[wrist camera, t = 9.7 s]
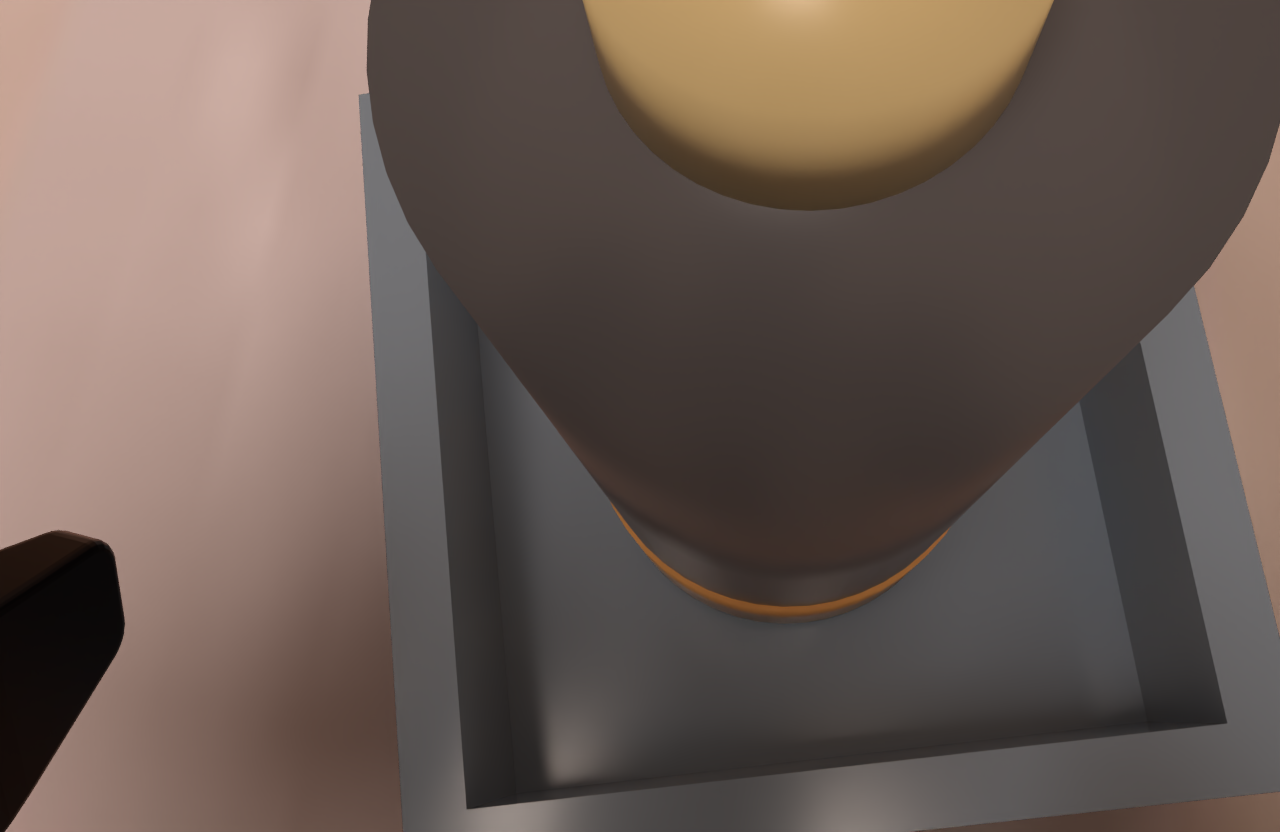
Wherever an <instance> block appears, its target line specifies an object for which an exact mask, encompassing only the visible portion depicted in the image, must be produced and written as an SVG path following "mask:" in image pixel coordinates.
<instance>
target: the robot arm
mask: <svg viewBox="0 0 1280 832" xmlns="http://www.w3.org/2000/svg"><path fill="white" fill-rule="evenodd" d="M124 626H125V619H124V612H123V606H122V599H121V593H120V587H119V580H118V574H117V567H116V561H115V556H114V553H113V551H112V550H111V548H110V547H109V545H108V544H107V543H105V542H103V541H102V540H99V539H95V538H91V537H87V536H84V535H80V534H76V533H72V532H68V531H60V530H57V531H51V532H48V533H44V534H42V535H39V536H36V537H34V538H31V539H28V540H25V541H23V542H20V543H17V544H15V545H12V546H9V547H7V548H4V549H1V550H0V832H5V831H6V829H7V828H8V827H9V825H10V824H11V822H12V821H13V820H14V818H15V816H16V815H17V813H18V812H19V810H20V809H21V807H22V806H23V804H24V803H25V801H26V800H27V798H28V797H29V795H30V794H31V792H32V790H33V789H34V787H35V786H36V784H37V782H38V781H39V779H40V777H41V776H42V774H43V773H44V771H45V769H46V768H47V766H48V764H49V763H50V761H51V760H52V758H53V756H54V755H55V753H56V752H57V750H58V748H59V747H60V745H61V743H62V742H63V740H64V739H65V737H66V735H67V734H68V732H69V730H70V729H71V727H72V726H73V724H74V722H75V721H76V719H77V717H78V716H79V714H80V713H81V711H82V709H83V708H84V706H85V704H86V703H87V701H88V700H89V698H90V696H91V695H92V693H93V691H94V690H95V688H96V687H97V685H98V683H99V682H100V680H101V678H102V677H103V675H104V674H105V672H106V670H107V669H108V667H109V665H110V664H111V662H112V661H113V659H114V657H115V656H116V654H117V652H118V650H119V647H120V645H121V642H122V639H123V635H124Z"/></svg>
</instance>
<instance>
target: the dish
mask: <svg viewBox="0 0 1280 832" xmlns="http://www.w3.org/2000/svg"><path fill="white" fill-rule="evenodd" d="M359 109H360V125H361V142H362V158H363V175H364V192H365V208H366V225H367V241H368V258H369V275H370V291H371V308H372V324H373V341H374V358H375V374H376V391H377V407H378V424H379V441H380V457H381V474H382V490H383V507H384V524H385V540H386V557H387V573H388V590H389V607H390V623H391V640H392V656H393V673H394V690H395V706H396V723H397V739H398V756H399V773H400V789H401V806H402V822H403V832H913V831H923V830H932V829H941V828H950V827H959V826H968V825H978V824H987V823H996V822H1005V821H1014V820H1024V819H1033V818H1042V817H1051V816H1060V815H1070V814H1079V813H1088V812H1097V811H1106V810H1116V809H1125V808H1134V807H1143V806H1152V805H1161V804H1171V803H1180V802H1189V801H1198V800H1207V799H1217V798H1226V797H1235V796H1244V795H1253V794H1263V793H1272V792H1280V637H1279V633H1278V629H1277V625H1276V621H1275V617H1274V613H1273V608H1272V604H1271V600H1270V596H1269V592H1268V588H1267V584H1266V580H1265V576H1264V572H1263V567H1262V563H1261V559H1260V555H1259V551H1258V547H1257V543H1256V539H1255V535H1254V531H1253V526H1252V522H1251V518H1250V514H1249V510H1248V506H1247V502H1246V498H1245V494H1244V489H1243V485H1242V481H1241V477H1240V473H1239V469H1238V465H1237V461H1236V457H1235V453H1234V448H1233V444H1232V440H1231V436H1230V432H1229V428H1228V424H1227V420H1226V416H1225V412H1224V407H1223V403H1222V399H1221V395H1220V391H1219V387H1218V383H1217V379H1216V375H1215V371H1214V366H1213V362H1212V358H1211V354H1210V350H1209V346H1208V342H1207V338H1206V334H1205V329H1204V325H1203V321H1202V317H1201V313H1200V309H1199V305H1198V301H1197V297H1196V293H1195V288H1194V286H1193V287H1192V288H1191V289H1190V290H1189V292H1188V293H1187V294H1186V295H1185V296H1184V297H1183V298H1182V299H1181V301H1180V302H1179V303H1178V304H1177V305H1176V306H1175V307H1174V308H1173V310H1172V311H1171V312H1170V313H1169V314H1168V315H1167V316H1166V317H1165V318H1164V319H1163V320H1162V321H1161V322H1160V323H1159V324H1158V325H1157V326H1156V327H1155V328H1154V329H1153V330H1152V331H1151V332H1150V333H1149V334H1148V335H1146V336H1145V337H1144V338H1143V339H1142V340H1141V341H1140V342H1139V343H1138V344H1137V345H1136V346H1135V347H1134V348H1133V349H1132V350H1131V351H1130V352H1129V353H1128V354H1127V355H1126V356H1125V357H1124V358H1123V359H1122V360H1121V361H1120V362H1119V363H1118V364H1117V365H1116V366H1115V367H1114V368H1113V369H1112V370H1111V371H1110V372H1109V373H1108V374H1107V375H1105V376H1104V377H1103V378H1102V379H1101V380H1100V381H1099V382H1098V383H1097V384H1096V385H1095V386H1094V387H1093V388H1092V389H1091V390H1090V391H1089V392H1088V393H1087V394H1086V395H1085V396H1084V397H1083V398H1082V399H1081V400H1080V401H1079V402H1078V403H1077V404H1076V405H1075V406H1074V407H1073V408H1072V409H1071V410H1070V411H1069V412H1068V413H1067V414H1065V415H1064V416H1063V417H1062V418H1061V419H1060V420H1059V421H1058V422H1057V423H1056V424H1055V425H1054V426H1053V427H1052V428H1051V429H1050V430H1049V431H1048V432H1047V433H1046V434H1045V435H1044V436H1043V437H1042V438H1041V439H1040V440H1039V441H1038V442H1037V443H1036V444H1035V445H1034V446H1033V447H1032V448H1031V449H1030V450H1029V451H1028V452H1027V453H1025V454H1024V455H1023V456H1022V457H1021V458H1020V459H1019V460H1018V461H1017V462H1016V463H1015V464H1014V465H1013V466H1012V467H1011V468H1010V469H1009V470H1008V471H1007V472H1006V473H1005V474H1004V475H1003V476H1002V477H1001V478H1000V479H999V480H998V481H997V482H996V483H995V484H994V485H993V486H992V487H991V488H990V489H989V490H988V491H987V492H985V493H984V494H983V495H982V496H981V497H980V498H979V499H978V500H977V501H976V502H975V503H974V504H973V505H972V506H971V507H970V508H969V509H968V510H967V511H966V512H965V513H964V514H963V515H962V516H961V517H960V518H959V519H958V520H957V521H956V522H955V523H954V524H953V525H952V526H951V527H950V528H949V530H948V531H947V533H946V534H945V536H944V537H943V538H942V539H941V540H940V541H939V542H938V544H937V545H936V546H935V547H934V548H933V549H932V550H931V551H930V553H929V554H928V555H927V556H926V557H925V558H924V559H922V560H921V561H920V562H919V563H918V564H917V565H916V566H915V567H914V568H913V569H912V570H911V571H910V572H909V573H908V574H907V575H905V576H904V577H903V578H902V579H901V580H900V581H898V582H897V583H896V584H895V585H894V586H893V587H891V588H890V589H889V590H888V591H886V592H884V593H883V594H881V595H880V596H878V597H877V598H875V599H874V600H872V601H870V602H869V603H867V604H864V605H862V606H860V607H858V608H856V609H854V610H852V611H849V612H847V613H844V614H840V615H837V616H834V617H831V618H828V619H823V620H817V621H811V622H805V623H785V624H779V623H768V622H757V621H753V620H749V619H744V618H740V617H735V616H733V615H730V614H727V613H725V612H722V611H719V610H716V609H714V608H712V607H710V606H708V605H706V604H704V603H702V602H700V601H699V600H697V599H695V598H693V597H692V596H690V595H689V594H687V593H686V592H685V591H683V590H682V589H680V588H679V587H678V586H676V585H675V584H674V583H673V582H672V581H670V580H669V579H668V578H667V577H666V576H665V575H664V574H663V573H662V572H661V571H660V570H659V569H658V568H657V567H656V566H655V565H654V563H653V562H652V561H651V560H650V558H649V557H648V556H647V555H646V554H645V552H644V551H643V550H642V549H641V547H640V546H639V545H638V543H637V542H636V541H635V540H634V538H633V537H632V536H631V534H630V533H629V532H628V531H627V529H626V528H625V526H624V525H623V523H622V521H621V520H620V518H619V517H618V515H617V513H616V512H615V510H614V509H613V507H612V504H611V502H610V500H609V499H608V498H607V496H606V495H605V494H604V492H603V491H602V490H601V488H600V487H599V486H598V484H597V483H596V482H595V480H594V479H593V478H592V476H591V475H590V474H589V472H588V471H587V470H586V468H585V467H584V466H583V464H582V463H581V462H580V460H579V459H578V458H577V456H576V455H575V454H574V452H573V451H572V450H571V448H570V447H569V446H568V444H567V443H566V442H565V440H564V439H563V438H562V436H561V435H560V434H559V432H558V431H557V430H556V428H555V427H554V426H553V424H552V423H551V422H550V420H549V419H548V418H547V416H546V415H545V414H544V412H543V411H542V410H541V408H540V407H539V406H538V404H537V403H536V402H535V400H534V399H533V398H532V396H531V395H530V394H529V392H528V391H527V390H526V388H525V387H524V386H523V384H522V383H521V382H520V380H519V379H518V378H517V376H516V375H515V374H514V372H513V371H512V370H511V368H510V367H509V366H508V364H507V363H506V362H505V360H504V359H503V358H502V356H501V355H500V354H499V352H498V351H497V350H496V348H495V347H494V346H493V344H492V343H491V342H490V340H489V339H488V338H487V336H486V335H485V334H484V332H483V331H482V330H481V328H480V327H479V326H478V324H477V323H476V322H475V320H474V319H473V318H472V316H471V315H470V314H469V312H468V311H467V310H466V308H465V307H464V306H463V304H462V303H461V302H460V300H459V299H458V298H457V296H456V295H455V294H454V292H453V291H452V290H451V288H450V287H449V286H448V284H447V283H446V282H445V280H444V279H443V278H442V276H441V275H440V274H439V272H438V271H437V270H436V268H435V266H434V265H433V263H432V261H431V260H430V258H429V257H428V255H427V253H426V252H425V250H424V248H423V247H422V245H421V244H420V242H419V240H418V239H417V237H416V235H415V234H414V232H413V231H412V229H411V227H410V226H409V224H408V222H407V220H406V218H405V215H404V213H403V211H402V208H401V206H400V204H399V201H398V199H397V197H396V194H395V192H394V190H393V187H392V185H391V183H390V180H389V178H388V176H387V173H386V170H385V166H384V162H383V159H382V155H381V151H380V147H379V144H378V140H377V136H376V132H375V129H374V125H373V120H372V111H371V103H370V94H369V93H368V94H361V95H359Z"/></svg>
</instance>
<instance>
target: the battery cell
mask: <svg viewBox="0 0 1280 832" xmlns="http://www.w3.org/2000/svg"><path fill="white" fill-rule="evenodd" d="M367 77H368V86H369V94H370V103H371V111H372V120H373V125H374V129H375V132H376V136H377V140H378V144H379V147H380V151H381V155H382V159H383V162H384V166H385V170H386V173H387V176H388V178H389V180H390V183H391V185H392V187H393V190H394V192H395V194H396V197H397V199H398V201H399V204H400V206H401V208H402V211H403V213H404V215H405V218H406V220H407V222H408V224H409V226H410V227H411V229H412V231H413V232H414V234H415V235H416V237H417V239H418V240H419V242H420V244H421V245H422V247H423V248H424V250H425V252H426V253H427V255H428V257H429V258H430V260H431V261H432V263H433V265H434V266H435V268H436V270H437V271H438V272H439V274H440V275H441V276H442V278H443V279H444V280H445V282H446V283H447V284H448V286H449V287H450V288H451V290H452V291H453V292H454V294H455V295H456V296H457V298H458V299H459V300H460V302H461V303H462V304H463V306H464V307H465V308H466V310H467V311H468V312H469V314H470V315H471V316H472V318H473V319H474V320H475V322H476V323H477V324H478V326H479V327H480V328H481V330H482V331H483V332H484V334H485V335H486V336H487V338H488V339H489V340H490V342H491V343H492V344H493V346H494V347H495V348H496V350H497V351H498V352H499V354H500V355H501V356H502V358H503V359H504V360H505V362H506V363H507V364H508V366H509V367H510V368H511V370H512V371H513V372H514V374H515V375H516V376H517V378H518V379H519V380H520V382H521V383H522V384H523V386H524V387H525V388H526V390H527V391H528V392H529V394H530V395H531V396H532V398H533V399H534V400H535V402H536V403H537V404H538V406H539V407H540V408H541V410H542V411H543V412H544V414H545V415H546V416H547V418H548V419H549V420H550V422H551V423H552V424H553V426H554V427H555V428H556V430H557V431H558V432H559V434H560V435H561V436H562V438H563V439H564V440H565V442H566V443H567V444H568V446H569V447H570V448H571V450H572V451H573V452H574V454H575V455H576V456H577V458H578V459H579V460H580V462H581V463H582V464H583V466H584V467H585V468H586V470H587V471H588V472H589V474H590V475H591V476H592V478H593V479H594V480H595V482H596V483H597V484H598V486H599V487H600V488H601V490H602V491H603V492H604V494H605V495H606V496H607V498H608V499H609V500H610V502H611V504H612V507H613V509H614V510H615V512H616V513H617V515H618V517H619V518H620V520H621V521H622V523H623V525H624V526H625V528H626V529H627V531H628V532H629V533H630V534H631V536H632V537H633V538H634V540H635V541H636V542H637V543H638V545H639V546H640V547H641V549H642V550H643V551H644V552H645V554H646V555H647V556H648V557H649V558H650V560H651V561H652V562H653V563H654V565H655V566H656V567H657V568H658V569H659V570H660V571H661V572H662V573H663V574H664V575H665V576H666V577H667V578H668V579H669V580H670V581H672V582H673V583H674V584H675V585H676V586H678V587H679V588H680V589H682V590H683V591H685V592H686V593H687V594H689V595H690V596H692V597H693V598H695V599H697V600H699V601H700V602H702V603H704V604H706V605H708V606H710V607H712V608H714V609H716V610H719V611H722V612H725V613H727V614H730V615H733V616H735V617H740V618H744V619H749V620H753V621H757V622H768V623H779V624H785V623H805V622H811V621H817V620H823V619H828V618H831V617H834V616H837V615H840V614H844V613H847V612H849V611H852V610H854V609H856V608H858V607H860V606H862V605H864V604H867V603H869V602H870V601H872V600H874V599H875V598H877V597H878V596H880V595H881V594H883V593H884V592H886V591H888V590H889V589H890V588H891V587H893V586H894V585H895V584H896V583H897V582H898V581H900V580H901V579H902V578H903V577H904V576H905V575H907V574H908V573H909V572H910V571H911V570H912V569H913V568H914V567H915V566H916V565H917V564H918V563H919V562H920V561H921V560H922V559H924V558H925V557H926V556H927V555H928V554H929V553H930V551H931V550H932V549H933V548H934V547H935V546H936V545H937V544H938V542H939V541H940V540H941V539H942V538H943V537H944V536H945V534H946V533H947V531H948V530H949V528H950V527H951V526H952V525H953V524H954V523H955V522H956V521H957V520H958V519H959V518H960V517H961V516H962V515H963V514H964V513H965V512H966V511H967V510H968V509H969V508H970V507H971V506H972V505H973V504H974V503H975V502H976V501H977V500H978V499H979V498H980V497H981V496H982V495H983V494H984V493H985V492H987V491H988V490H989V489H990V488H991V487H992V486H993V485H994V484H995V483H996V482H997V481H998V480H999V479H1000V478H1001V477H1002V476H1003V475H1004V474H1005V473H1006V472H1007V471H1008V470H1009V469H1010V468H1011V467H1012V466H1013V465H1014V464H1015V463H1016V462H1017V461H1018V460H1019V459H1020V458H1021V457H1022V456H1023V455H1024V454H1025V453H1027V452H1028V451H1029V450H1030V449H1031V448H1032V447H1033V446H1034V445H1035V444H1036V443H1037V442H1038V441H1039V440H1040V439H1041V438H1042V437H1043V436H1044V435H1045V434H1046V433H1047V432H1048V431H1049V430H1050V429H1051V428H1052V427H1053V426H1054V425H1055V424H1056V423H1057V422H1058V421H1059V420H1060V419H1061V418H1062V417H1063V416H1064V415H1065V414H1067V413H1068V412H1069V411H1070V410H1071V409H1072V408H1073V407H1074V406H1075V405H1076V404H1077V403H1078V402H1079V401H1080V400H1081V399H1082V398H1083V397H1084V396H1085V395H1086V394H1087V393H1088V392H1089V391H1090V390H1091V389H1092V388H1093V387H1094V386H1095V385H1096V384H1097V383H1098V382H1099V381H1100V380H1101V379H1102V378H1103V377H1104V376H1105V375H1107V374H1108V373H1109V372H1110V371H1111V370H1112V369H1113V368H1114V367H1115V366H1116V365H1117V364H1118V363H1119V362H1120V361H1121V360H1122V359H1123V358H1124V357H1125V356H1126V355H1127V354H1128V353H1129V352H1130V351H1131V350H1132V349H1133V348H1134V347H1135V346H1136V345H1137V344H1138V343H1139V342H1140V341H1141V340H1142V339H1143V338H1144V337H1145V336H1146V335H1148V334H1149V333H1150V332H1151V331H1152V330H1153V329H1154V328H1155V327H1156V326H1157V325H1158V324H1159V323H1160V322H1161V321H1162V320H1163V319H1164V318H1165V317H1166V316H1167V315H1168V314H1169V313H1170V312H1171V311H1172V310H1173V308H1174V307H1175V306H1176V305H1177V304H1178V303H1179V302H1180V301H1181V299H1182V298H1183V297H1184V296H1185V295H1186V294H1187V293H1188V292H1189V290H1190V289H1191V288H1192V287H1193V286H1194V285H1195V284H1196V282H1197V281H1198V280H1199V279H1200V278H1201V277H1202V276H1203V275H1204V273H1205V272H1206V271H1207V270H1208V269H1209V268H1210V267H1211V265H1212V263H1213V262H1214V260H1215V259H1216V257H1217V256H1218V254H1219V253H1220V251H1221V250H1222V248H1223V247H1224V245H1225V244H1226V242H1227V241H1228V239H1229V238H1230V236H1231V235H1232V233H1233V231H1234V230H1235V228H1236V227H1237V225H1238V224H1239V222H1240V221H1241V219H1242V218H1243V216H1244V214H1245V212H1246V210H1247V208H1248V205H1249V203H1250V201H1251V199H1252V197H1253V195H1254V192H1255V190H1256V188H1257V186H1258V184H1259V182H1260V179H1261V177H1262V175H1263V173H1264V171H1265V169H1266V166H1267V164H1268V162H1269V159H1270V155H1271V152H1272V148H1273V145H1274V141H1275V138H1276V134H1277V131H1278V127H1279V124H1280V0H371V4H370V10H369V16H368V41H367Z"/></svg>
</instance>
